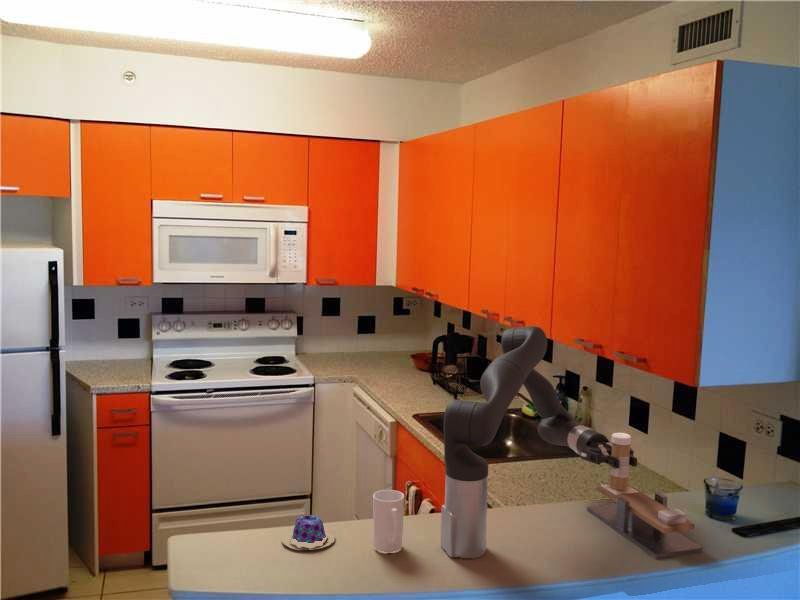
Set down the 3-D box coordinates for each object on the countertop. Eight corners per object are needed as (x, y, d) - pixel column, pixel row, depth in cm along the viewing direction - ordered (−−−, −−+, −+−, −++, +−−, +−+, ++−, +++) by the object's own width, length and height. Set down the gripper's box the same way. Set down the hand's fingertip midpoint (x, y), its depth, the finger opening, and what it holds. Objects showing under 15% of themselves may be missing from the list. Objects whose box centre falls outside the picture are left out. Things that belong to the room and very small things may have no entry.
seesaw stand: (656, 559, 155) (657, 523, 154) (586, 510, 181) (588, 479, 180) (701, 551, 159) (704, 517, 158) (627, 505, 184) (629, 475, 183)
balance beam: (662, 533, 156) (663, 519, 155) (595, 489, 180) (595, 477, 180) (695, 528, 158) (695, 515, 158) (624, 486, 183) (624, 473, 182)
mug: (369, 542, 161) (369, 491, 160) (398, 539, 163) (399, 488, 161) (380, 563, 151) (381, 508, 150) (411, 559, 153) (412, 505, 152)
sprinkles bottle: (606, 484, 180) (608, 432, 178) (623, 483, 180) (626, 431, 179) (613, 491, 175) (616, 437, 174) (631, 490, 176) (634, 437, 174)
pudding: (346, 542, 162) (346, 520, 161) (303, 559, 153) (303, 536, 153) (313, 526, 170) (313, 504, 170) (270, 541, 162) (270, 518, 161)
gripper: (564, 431, 188) (602, 451, 172) (611, 426, 192) (652, 446, 176) (563, 459, 189) (601, 481, 172) (610, 454, 193) (651, 475, 177)
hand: (627, 463), depth 174 cm, fingers closed on sprinkles bottle, 4 cm apart
